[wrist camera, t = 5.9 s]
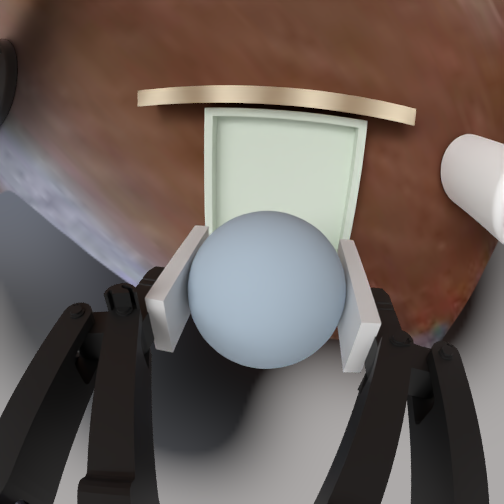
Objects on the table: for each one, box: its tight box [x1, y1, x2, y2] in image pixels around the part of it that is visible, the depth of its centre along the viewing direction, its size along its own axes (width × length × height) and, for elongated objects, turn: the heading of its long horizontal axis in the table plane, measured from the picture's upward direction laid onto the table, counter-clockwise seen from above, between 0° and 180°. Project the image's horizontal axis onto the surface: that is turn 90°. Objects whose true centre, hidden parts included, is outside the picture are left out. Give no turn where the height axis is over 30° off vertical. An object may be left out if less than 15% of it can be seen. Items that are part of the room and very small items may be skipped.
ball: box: [188, 211, 346, 369], centre depth 13 cm, size 7×7×7 cm
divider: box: [138, 85, 416, 125], centre depth 23 cm, size 24×2×4 cm, turn 88°
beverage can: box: [441, 134, 504, 245], centre depth 20 cm, size 8×8×12 cm
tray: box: [204, 107, 368, 252], centre depth 28 cm, size 14×14×2 cm
